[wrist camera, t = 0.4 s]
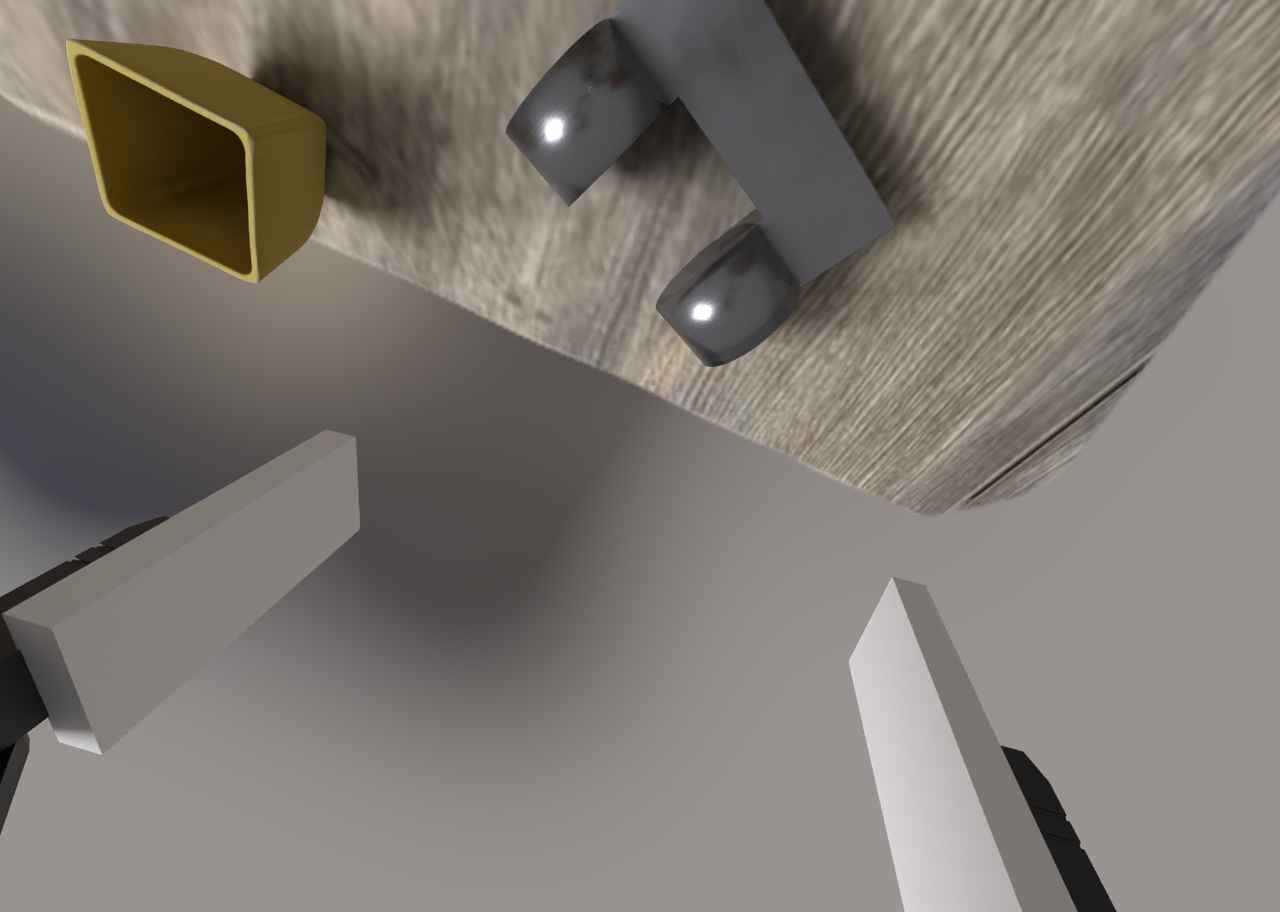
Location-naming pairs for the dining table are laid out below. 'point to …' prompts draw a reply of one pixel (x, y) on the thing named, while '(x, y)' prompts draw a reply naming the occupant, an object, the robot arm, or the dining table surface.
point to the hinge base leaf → (741, 134)
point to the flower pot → (200, 154)
